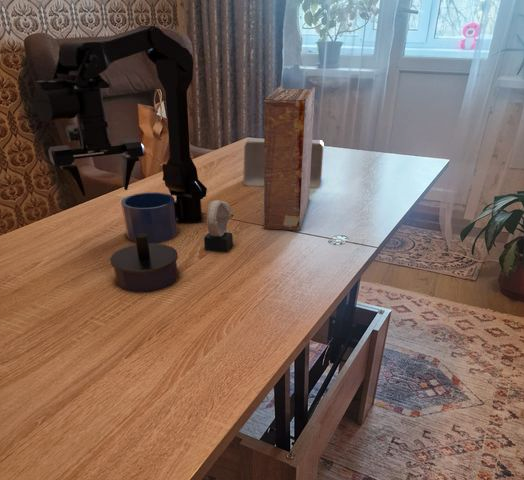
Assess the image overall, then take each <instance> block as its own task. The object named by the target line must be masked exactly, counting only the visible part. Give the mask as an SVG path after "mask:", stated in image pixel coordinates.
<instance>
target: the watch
mask: <svg viewBox="0 0 524 480" xmlns="http://www.w3.org/2000/svg"><path fill="white" fill-rule="evenodd" d="M231 213H232V207H231V205H230V204H228V203H227V202H226V201H224V200H220V199H216V200H211V201H210V203H209V205H208V207H207V213H206V217H207V218H206V226H207V230H208V233H206V235H205V236H204V237H203V241H204V242H203V243H204V250H205V251H213V252H221V253H228V252H229V250H230V249H232V247H233V246H234V239H233V237H234V235H233V232H227V231H226V230H227V226H228V221H229V220H230V216H231Z"/></svg>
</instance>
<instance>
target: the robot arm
mask: <svg viewBox="0 0 524 480" xmlns="http://www.w3.org/2000/svg"><path fill="white" fill-rule="evenodd" d="M142 52H144V53H145V56H146V57H147V59H148V60H149V61H150V62H152V64H154V65H155V70H156V74H157V78H158V80H159V82H160V84H161V86H162V88H163V90H164V93H165V105H166V118H167V119H166V120H167V133H168V134H167V135H168V147H169V157H168V158H167V159H168V160H167V161H166V163H162V166H161V169H162V181H163V182H164V185H165V186H166V188H167V189H168V192H169V195H171V196H173V197H175V199H176V200H175V209H176V218H177V224H178V223H179V224H180V223H202V222H203V216H204V213H203V209H202V200H204V198H206V197H207V191H208V188H207V186H206V185H204V184H203V182H201V180H200V179H199V175H198V170H197V169H198V168H197V167H196V165H195V163H194V161H193V158H192V157H191V150H190V148H191V147H190V130H189V128H190V127H189V111H188V109H189V108H188V90H189V88H190V85H191V84H192V81H193V77H194V57H193V54H192V53H191V52H190V51H189V49H188V48H187V47H184V46H183V45H182V44H181V43H180V42H178V41H176V40H174V39H173V38H172V37H170V36H168V35H167V34H166V33H164V32H163V31H162V30H161V29H160V27H157V26H156V25H139V26H138V27H136V28H133V29H130V30H127V31H123V32H120V33H117V34H114V35H111V36H107V37H105V38H101V39H97V40H96V39H95V40H67V41H63V42H62V43H61V44H60V46H59V51H58V59H57V62H56V64H55V69H54V70H53V74H52V77H51V80H35V82H34V83H35V88H36V89H34V91H33V100H32V104H33V108H34V110H35V113H36V114H37V116H38V118H39V119H40V120H41V121H43V122H44V123H53V122H59V121H64V120H65V121H66V120H70V119H75V118H76V119H75V120H76V123H77V127H76V125H75V124H70V125H69V124H68V125H66V126H65V132H66V135H67V140H68V143H70V144H71V143H78V147H79V148H71V147H70V146H69V145H68V144H64V145H55V146H50V147H49V149H48V156H49V160H50V162H51V163H52V165H53V166H54V167H60V169H61V170H62V171H67V172H68V173H69V175H70V176H71V177H72V179H73V181H74V182H75V185H76V186H77V188H78V190H79V191H80V193H81V195H82V197H86V192H85V188H84V187H85V186H84V184H83V180H82V177H81V174H80V171H79V168H78V166H77V164H76V163H75V160H78V159H79V160H80V159H88V158H95V157H103V156H111V155H119V159H120V164H121V173H122V174H121V175H122V184H123V190H124V191H128V189H129V185H130V180H131V176H132V172H133V170H134V167H135V165H136V162H139V161H140V157H145V156H146V151H145V146H144V144H143V142H141V141H140V140H139V139H137V138H135V137H131V138H122V139H119V140H118V143H117V144H112V143H111V140H110V139H111V138H110V133H109V125H108V121H107V116H106V111H105V104H104V99H103V93H102V89H103V90H104V89H109V88H110V87H111V85H110V83H109V82H108V81H106V80H105V79H104V78H103V77H102V76H101V74H102V73H104V72H105V71H107V70H108V68H109V67H110V66H111V64H113V63H115V62H117V61H120V60H122V59H125V58H128V57H132V56H134V55H137V54H139V53H142Z"/></svg>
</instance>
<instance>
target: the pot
mask: <svg viewBox="0 0 524 480" xmlns="http://www.w3.org/2000/svg"><path fill="white" fill-rule="evenodd" d="M175 201H176V200H175V196H174V195H171V194H170V193H169V194H168V193H166V192H158V191H157V192H156V191H153V192H152V191H151V192H149V191H148V192H140V193H135V194H130V195H128V196H126V197H124V198H122V200H121V202H120V203H121V211H122V216H123V222H124V227H125V233H126V237H127V238H128V239H129V240H130V241H132V242H135V243H136V240H135V235H136V234H140V233H144V234H147V239H148V243H157V244H158V243H162V242H166V241H169V240H171V239H174V238H175V237H176V236H177V235H178V233H179V232H178V230H179V229H178V221H177V220H178V218H176V209H175Z"/></svg>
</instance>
